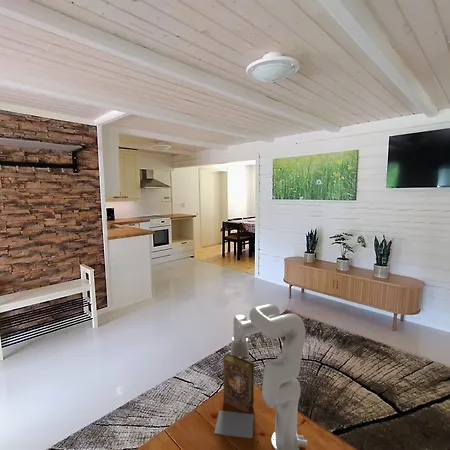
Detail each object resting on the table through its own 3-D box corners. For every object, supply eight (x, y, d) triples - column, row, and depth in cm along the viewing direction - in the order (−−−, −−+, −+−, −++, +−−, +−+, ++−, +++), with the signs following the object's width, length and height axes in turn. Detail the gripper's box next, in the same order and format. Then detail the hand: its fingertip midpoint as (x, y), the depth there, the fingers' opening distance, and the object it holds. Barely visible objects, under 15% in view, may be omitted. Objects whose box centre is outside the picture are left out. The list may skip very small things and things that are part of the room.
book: (222, 401, 153) (222, 358, 150) (227, 395, 158) (227, 353, 155) (248, 413, 144) (249, 368, 142) (253, 406, 149) (254, 362, 146)
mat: (253, 415, 143) (253, 414, 143) (252, 438, 130) (252, 437, 129) (219, 411, 146) (219, 410, 146) (214, 433, 132) (214, 433, 132)
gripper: (253, 334, 162) (253, 364, 164) (227, 332, 164) (227, 361, 166) (252, 341, 154) (252, 372, 157) (226, 339, 157) (226, 369, 159)
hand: (239, 366), depth 161 cm, fingers closed
